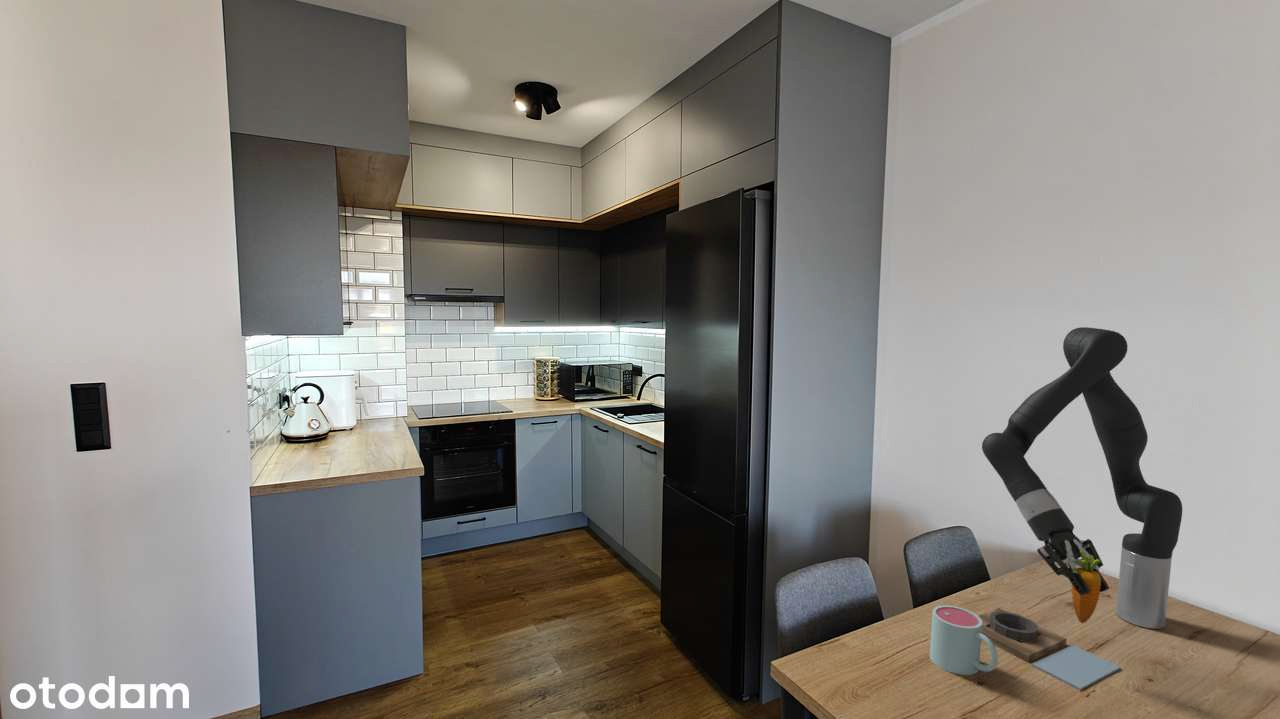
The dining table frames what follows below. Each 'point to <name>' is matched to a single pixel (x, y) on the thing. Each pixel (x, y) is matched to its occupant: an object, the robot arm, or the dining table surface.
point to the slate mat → (1076, 667)
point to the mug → (959, 641)
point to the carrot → (1088, 602)
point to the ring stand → (1019, 635)
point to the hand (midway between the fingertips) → (1095, 591)
